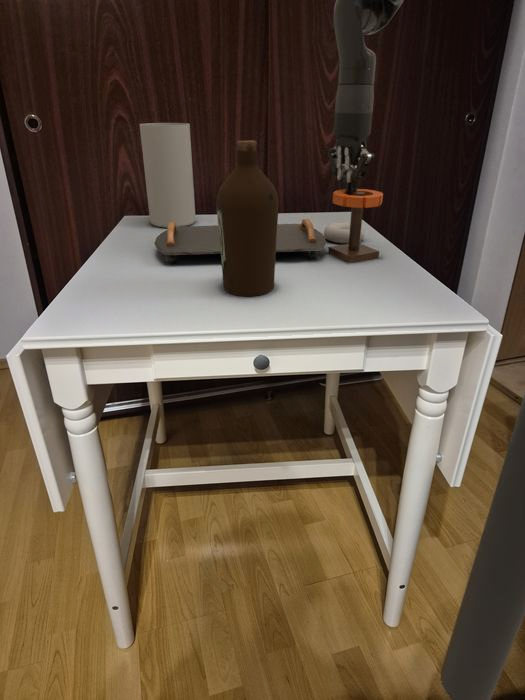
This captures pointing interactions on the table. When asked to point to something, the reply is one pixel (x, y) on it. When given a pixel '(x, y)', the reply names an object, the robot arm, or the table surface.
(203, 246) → the serving tray
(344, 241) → the donut
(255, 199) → the olive oil
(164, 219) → the cylinder vase
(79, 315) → the table surface
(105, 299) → the table surface
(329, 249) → the stand
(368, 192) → the ring
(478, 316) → the table surface
